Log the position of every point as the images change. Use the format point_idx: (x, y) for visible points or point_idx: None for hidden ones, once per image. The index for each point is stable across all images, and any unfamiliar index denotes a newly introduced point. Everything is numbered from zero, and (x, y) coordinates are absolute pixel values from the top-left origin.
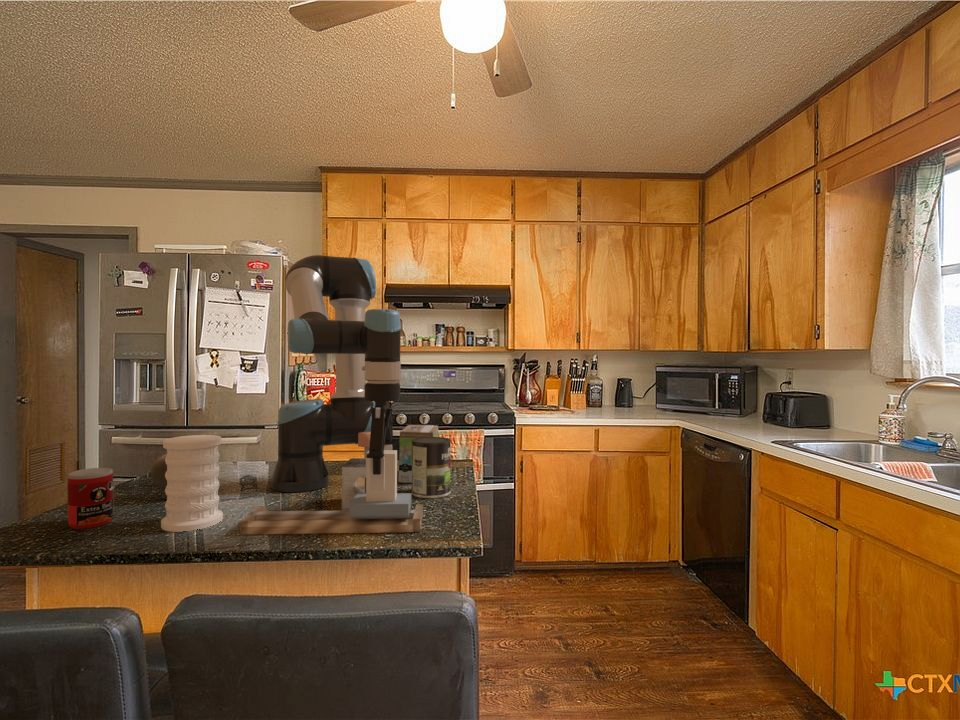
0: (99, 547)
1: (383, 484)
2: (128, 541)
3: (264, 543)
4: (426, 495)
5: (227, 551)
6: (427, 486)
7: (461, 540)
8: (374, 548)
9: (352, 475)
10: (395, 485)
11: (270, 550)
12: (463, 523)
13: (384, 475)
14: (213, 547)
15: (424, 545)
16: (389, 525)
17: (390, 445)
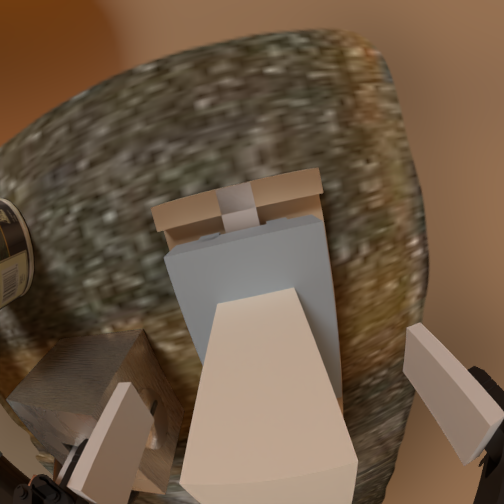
0: (366, 500)
1: (432, 336)
2: (353, 499)
3: (379, 428)
4: (27, 249)
5: (400, 439)
6: (10, 253)
7: (343, 53)
8: (420, 254)
9: (156, 462)
10: (278, 321)
11: (407, 407)
12: (206, 64)
13: (439, 362)
14: (383, 455)
15: (395, 139)
16: (330, 263)
17: (86, 494)
